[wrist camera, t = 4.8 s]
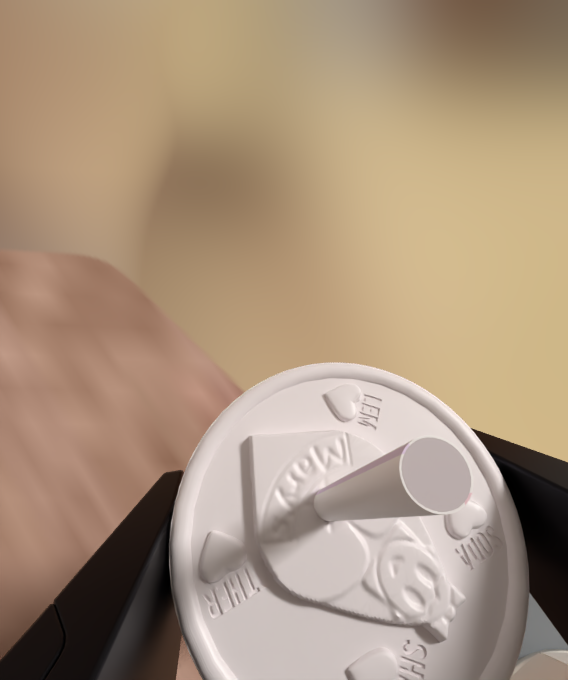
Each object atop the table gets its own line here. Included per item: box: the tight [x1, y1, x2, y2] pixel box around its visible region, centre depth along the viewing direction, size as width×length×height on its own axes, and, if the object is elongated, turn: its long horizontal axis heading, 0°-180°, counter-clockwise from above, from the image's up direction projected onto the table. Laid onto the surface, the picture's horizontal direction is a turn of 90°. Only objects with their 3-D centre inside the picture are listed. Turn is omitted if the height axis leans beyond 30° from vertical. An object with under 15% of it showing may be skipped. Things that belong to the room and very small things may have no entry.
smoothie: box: [169, 363, 529, 680], centre depth 9 cm, size 6×6×14 cm
